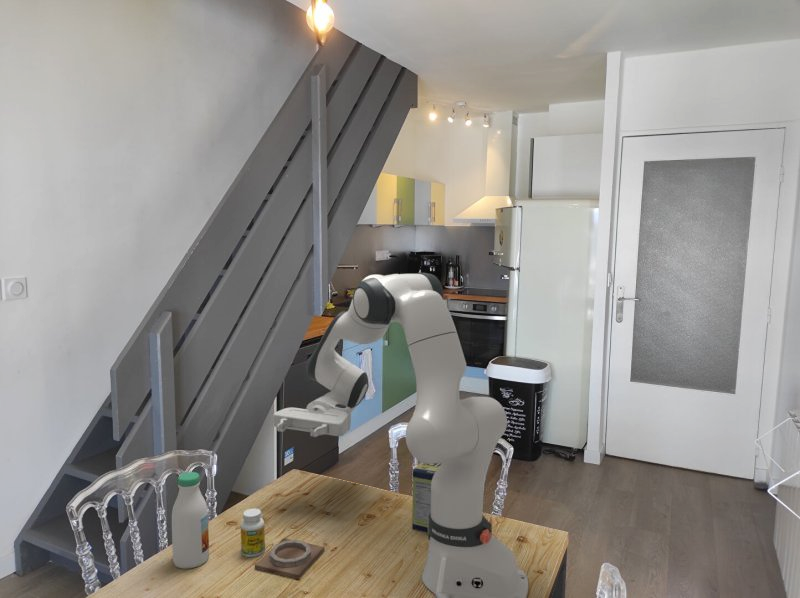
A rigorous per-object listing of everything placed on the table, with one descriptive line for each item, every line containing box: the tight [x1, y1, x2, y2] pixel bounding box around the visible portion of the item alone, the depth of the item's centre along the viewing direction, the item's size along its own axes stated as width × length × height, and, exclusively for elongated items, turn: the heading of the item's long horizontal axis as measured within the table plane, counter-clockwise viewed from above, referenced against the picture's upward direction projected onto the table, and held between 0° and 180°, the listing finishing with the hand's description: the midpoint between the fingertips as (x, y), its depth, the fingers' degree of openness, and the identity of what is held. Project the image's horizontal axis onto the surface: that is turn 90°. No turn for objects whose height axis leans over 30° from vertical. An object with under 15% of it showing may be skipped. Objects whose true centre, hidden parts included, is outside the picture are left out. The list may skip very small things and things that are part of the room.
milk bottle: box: [171, 471, 210, 570], centre depth 128 cm, size 8×8×20 cm
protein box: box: [411, 462, 442, 533], centre depth 148 cm, size 10×16×16 cm
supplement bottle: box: [240, 508, 266, 558], centre depth 132 cm, size 5×5×10 cm
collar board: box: [254, 537, 325, 580], centre depth 130 cm, size 11×12×2 cm
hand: (295, 431), depth 142 cm, fingers open, 8 cm apart
